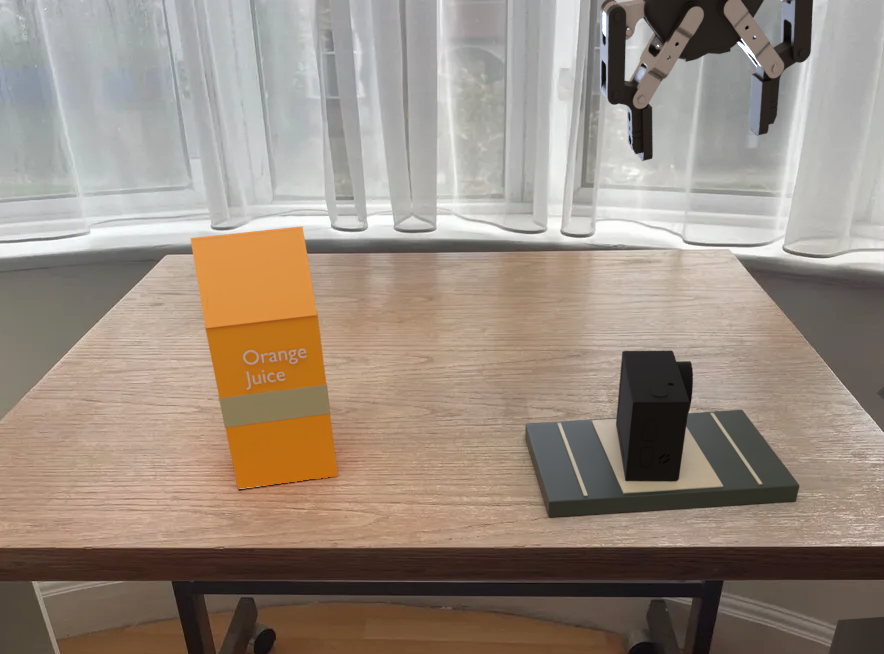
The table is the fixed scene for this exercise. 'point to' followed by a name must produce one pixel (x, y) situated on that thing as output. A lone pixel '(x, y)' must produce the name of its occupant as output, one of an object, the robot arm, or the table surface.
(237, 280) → the orange juice
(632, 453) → the digital camera
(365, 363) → the table surface
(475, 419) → the table surface
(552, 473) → the board
